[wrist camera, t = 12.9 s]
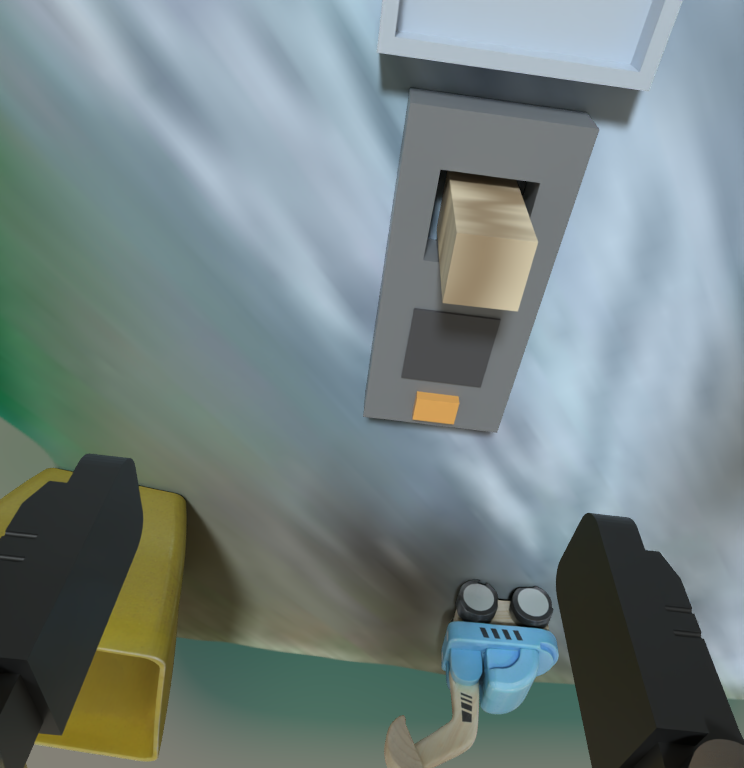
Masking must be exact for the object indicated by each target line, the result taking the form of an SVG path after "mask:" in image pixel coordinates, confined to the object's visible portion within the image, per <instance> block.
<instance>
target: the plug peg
mask: <svg viewBox="0 0 744 768" xmlns="http://www.w3.org/2000/svg"><path fill="white" fill-rule="evenodd" d="M437 238H438V251H439V264H440V277H441V289H442V302H443V303H447V304H456V305H464V306H473V307H482V308H491V309H500V310H509V311H517V312H518V309H519V306H520V302H521V299H522V296H523V292H524V289H525V285H526V282H527V279H528V275H529V272H530V269H531V265H532V262H533V258H534V255H535V252H536V248H537V245H538V240H537V237H536V234H535V232H534V229H533V226H532V223H531V220H530V217H529V215H528V212H527V209H526V206H525V203H524V200H523V197H522V195H521V192H520V189H519V186H518V183H517V180H515V179H507V178H500V177H492V176H485V175H478V174H470V173H463V172H456V171H448V170H447V174H446V180H445V185H444V191H443V196H442V202H441V207H440V213H439V218H438V224H437Z"/></svg>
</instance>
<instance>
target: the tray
mask: <svg viewBox="0 0 744 768" xmlns="http://www.w3.org/2000/svg"><path fill="white" fill-rule="evenodd" d="M682 1H683V0H383V1H382V10H381V19H380V28H379V37H378V46H377V53H383V54H390V55H397V56H405V57H412V58H419V59H426V60H433V61H440V62H447V63H454V64H461V65H468V66H475V67H482V68H489V69H496V70H503V71H510V72H517V73H524V74H531V75H538V76H545V77H552V78H559V79H566V80H573V81H580V82H587V83H594V84H601V85H608V86H615V87H622V88H629V89H636V90H643V91H649V90H650V87H651V85H652V82H653V79H654V77H655V74H656V71H657V68H658V66H659V63H660V60H661V58H662V55H663V52H664V50H665V47H666V44H667V42H668V39H669V36H670V34H671V31H672V28H673V25H674V23H675V20H676V17H677V15H678V12H679V9H680V7H681V4H682Z"/></svg>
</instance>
